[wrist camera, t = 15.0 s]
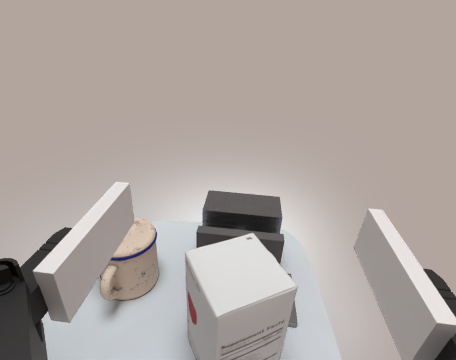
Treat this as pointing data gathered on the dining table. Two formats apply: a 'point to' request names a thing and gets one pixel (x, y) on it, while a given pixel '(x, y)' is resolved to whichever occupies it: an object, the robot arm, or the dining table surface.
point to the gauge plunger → (217, 235)
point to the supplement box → (237, 301)
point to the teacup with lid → (132, 264)
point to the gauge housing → (245, 217)
